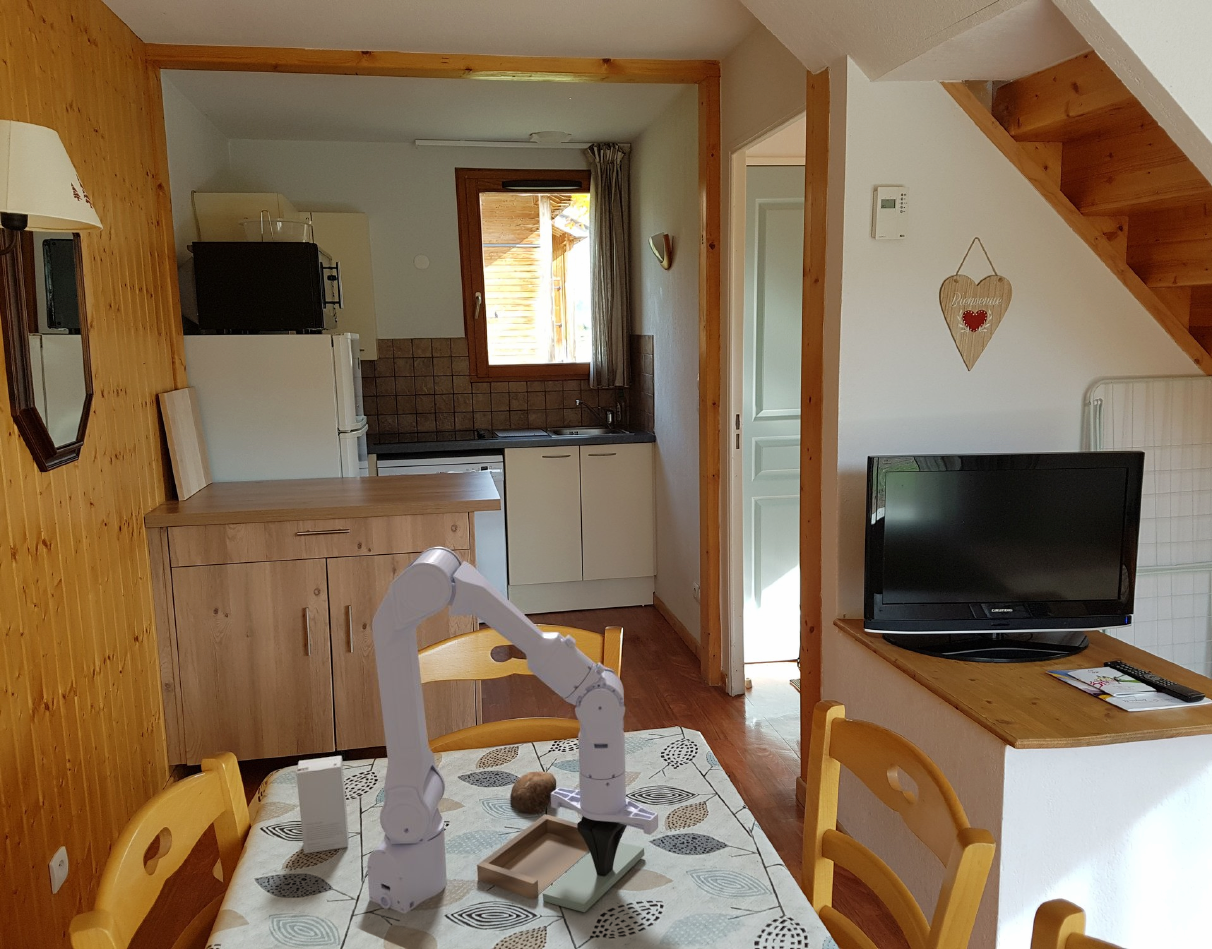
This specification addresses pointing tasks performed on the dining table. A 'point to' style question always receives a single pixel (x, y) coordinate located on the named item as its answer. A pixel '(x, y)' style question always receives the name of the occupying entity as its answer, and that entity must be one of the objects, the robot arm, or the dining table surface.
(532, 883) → the crate
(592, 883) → the panel
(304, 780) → the skincare box
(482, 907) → the dining table surface
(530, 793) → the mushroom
